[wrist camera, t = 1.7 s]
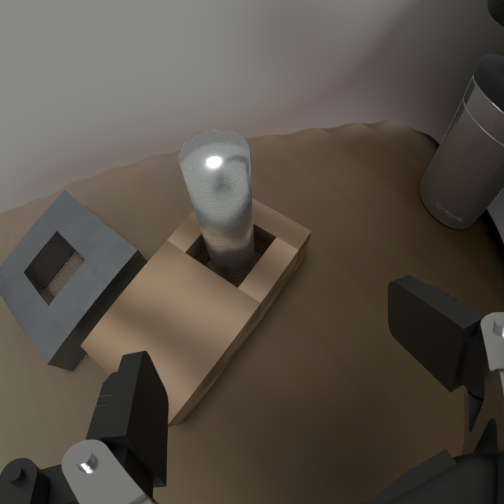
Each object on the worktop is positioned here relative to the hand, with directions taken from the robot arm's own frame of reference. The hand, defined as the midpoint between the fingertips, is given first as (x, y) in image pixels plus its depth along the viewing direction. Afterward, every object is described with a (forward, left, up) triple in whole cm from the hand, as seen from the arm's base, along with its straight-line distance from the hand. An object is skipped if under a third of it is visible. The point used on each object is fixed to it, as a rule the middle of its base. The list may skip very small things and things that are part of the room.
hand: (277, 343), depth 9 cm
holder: (+5, -23, -19) cm, 30 cm away
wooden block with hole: (-2, -9, -19) cm, 21 cm away
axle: (-7, -9, -19) cm, 22 cm away
